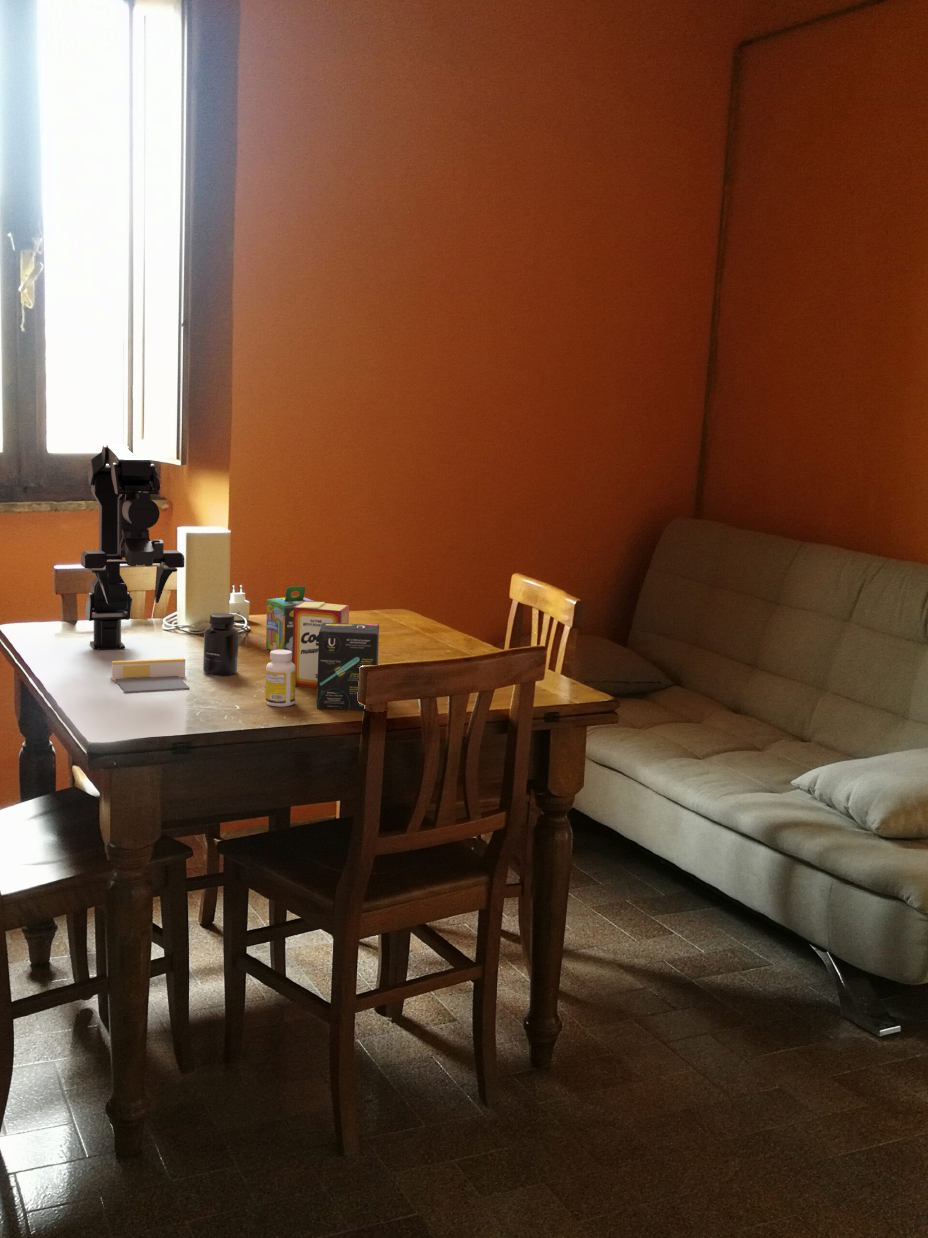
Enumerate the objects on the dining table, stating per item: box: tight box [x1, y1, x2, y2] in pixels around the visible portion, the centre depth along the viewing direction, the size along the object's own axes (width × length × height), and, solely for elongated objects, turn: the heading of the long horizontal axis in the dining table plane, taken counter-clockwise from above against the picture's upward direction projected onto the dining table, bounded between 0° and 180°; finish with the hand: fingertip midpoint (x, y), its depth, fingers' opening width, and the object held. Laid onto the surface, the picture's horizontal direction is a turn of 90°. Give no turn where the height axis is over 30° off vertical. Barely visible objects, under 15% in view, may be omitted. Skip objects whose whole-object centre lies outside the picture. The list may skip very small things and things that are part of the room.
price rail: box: [111, 657, 186, 681], centre depth 232 cm, size 2×14×4 cm, turn 116°
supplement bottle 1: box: [202, 612, 240, 677], centre depth 238 cm, size 7×7×12 cm
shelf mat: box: [115, 676, 190, 694], centre depth 226 cm, size 10×12×1 cm
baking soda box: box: [291, 601, 350, 688], centre depth 233 cm, size 10×6×16 cm
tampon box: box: [316, 623, 380, 711], centre depth 219 cm, size 11×9×15 cm
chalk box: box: [265, 585, 317, 651], centre depth 262 cm, size 9×9×15 cm
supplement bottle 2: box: [265, 650, 296, 708], centre depth 217 cm, size 5×5×10 cm
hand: (132, 603), depth 230 cm, fingers open, 9 cm apart
